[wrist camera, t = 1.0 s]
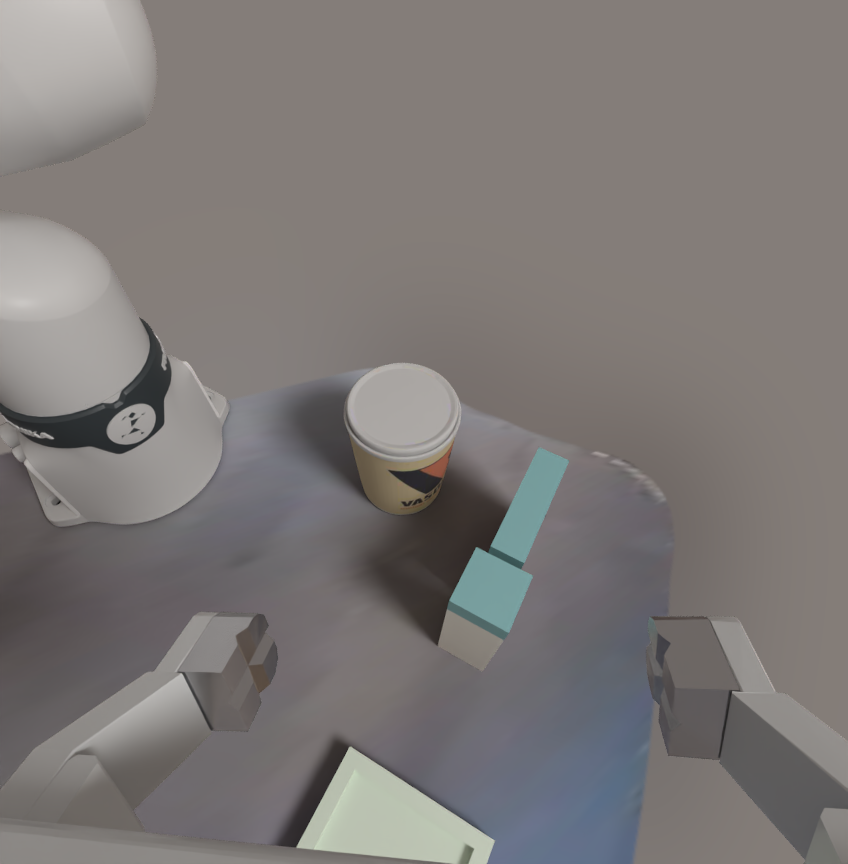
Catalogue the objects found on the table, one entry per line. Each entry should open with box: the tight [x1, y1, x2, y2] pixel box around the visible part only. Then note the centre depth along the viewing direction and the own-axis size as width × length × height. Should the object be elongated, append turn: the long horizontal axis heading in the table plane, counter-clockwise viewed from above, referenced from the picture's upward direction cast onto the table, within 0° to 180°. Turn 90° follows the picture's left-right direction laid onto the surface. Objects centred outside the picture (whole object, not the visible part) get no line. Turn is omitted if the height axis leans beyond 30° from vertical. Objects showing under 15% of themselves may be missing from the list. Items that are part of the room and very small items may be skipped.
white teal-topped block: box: [438, 547, 533, 672], centre depth 38 cm, size 4×4×12 cm
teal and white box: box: [488, 447, 569, 569], centre depth 41 cm, size 3×9×12 cm, turn 152°
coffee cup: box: [344, 363, 461, 515], centre depth 46 cm, size 9×9×12 cm
